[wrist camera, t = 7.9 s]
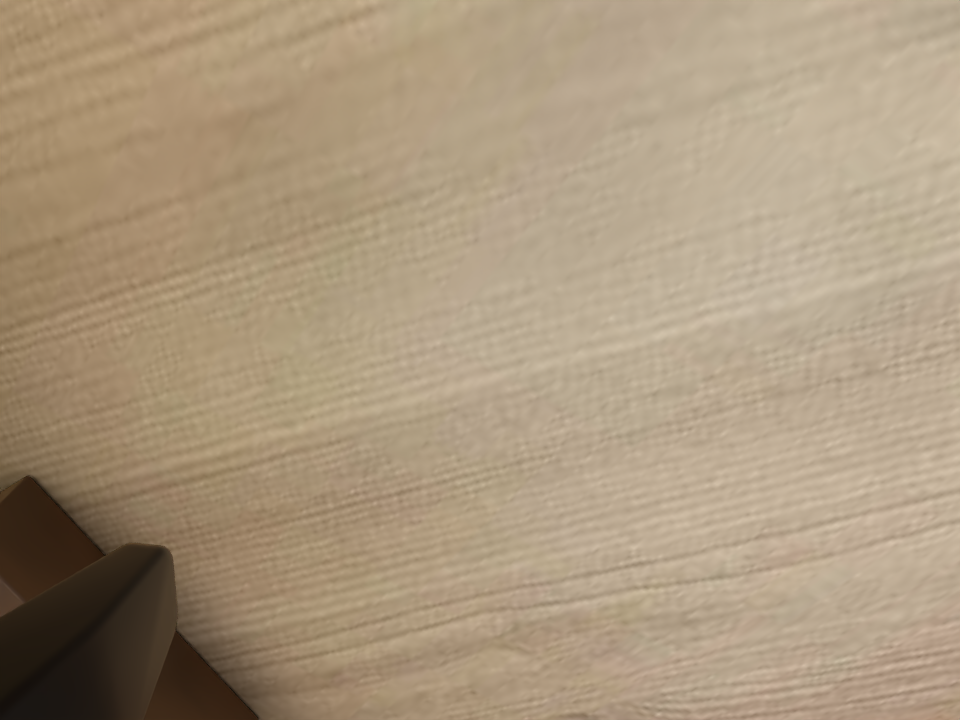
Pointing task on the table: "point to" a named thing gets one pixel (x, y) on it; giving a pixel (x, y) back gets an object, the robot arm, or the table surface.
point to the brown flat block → (63, 552)
